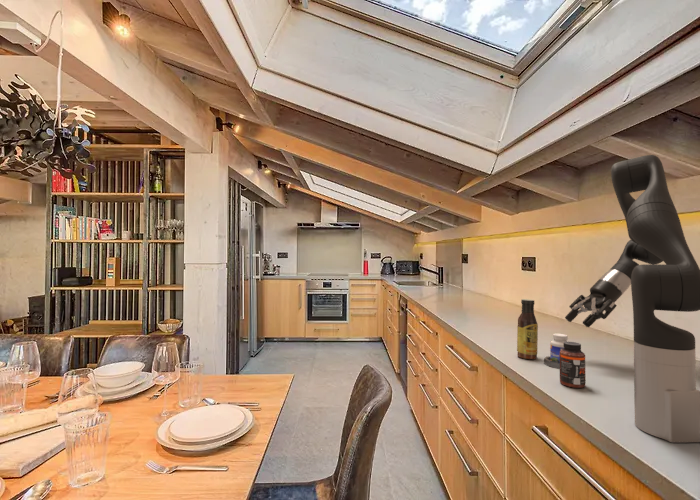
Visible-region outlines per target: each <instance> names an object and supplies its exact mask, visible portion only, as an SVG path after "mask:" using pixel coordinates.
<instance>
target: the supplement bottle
mask: <svg viewBox="0 0 700 500" xmlns="http://www.w3.org/2000/svg"><path fill="white" fill-rule="evenodd" d="M586 382H587V381H586V353H584V352H583V351H582V344H581V343H580V342H576V341H575V342H574V341H567V342H564V349H562V350H561V351H560V369H559V383H560V384H561V385H563V386H566V387H568V388H574V389H583V388H585V387H586Z"/></svg>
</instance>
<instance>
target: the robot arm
mask: <svg viewBox="0 0 700 500" xmlns="http://www.w3.org/2000/svg"><path fill="white" fill-rule="evenodd" d="M610 175H611V177H610V178H611V183H612V188H613V190H614V193H615V195H616V199H617V201H618V204H619V206H620V209H621V211H622V213H623V215H624V219H625V223H626V229H627V234H628V238H629V239H630V240H628V241H627V242H626V244H625V246H624V249H623V251H622V253H621V254H620V257H619V258H618V260H617V262H616V263H615V264H614V265H613V266H612V267H611V268H610V269H609V270H608V271H606V272H605V273H604V274H603V275H602V276H601V277H599V279H598V280H597V281H596V282H595V283H594V284H593V285H592V286H591V287H590V288H589V293H590V294H589V295H588V296H584V295H583V294H581V295H579V296H578V297H577V298H576V299H575V300H574V301H573V302H572V303H571V304H570V305H569V308H570V311H569V312H568V313H567V315H565V317H564V318H565V320H566V321H568V323H571V322H572V321H574V319H576V317H578V316H579V314H581V313H586V312H588V311H589V312H591V313H590V314H589V315H587V316H586V318H584V320H583V321H582V324H583V326H585V327H586V328H590V327H591V326H593V324H594V323H595V322H596V321H597V320H600V319H602V320H606V319H607V318H608V316H610V314H611V313H612V312H613V311H614V310H615V309H616V307H617V303H616V302H617V301H618V300H619V298H621V296H622V295H624V293H625V292H626V291H627V290H628V289H629V288H630V287H631V288H630V289H631V290H630V291H631V299H632V311H633V313H632V315H633V316H632V317H633V318H632V319H633V383H634V384H633V385H634V386H633V387H634V388H633V391H634V392H633V393H634V394H633V395H634V397H633V399H634V424H635V427H636V428H638V429H639V430H640V431H643V433H647V434H649V435H650V436H655V437H656V438H660V439H663V440H665V441H667V442H669V443H700V390H699V389H697V377H696V375H697V374H696V372H697V369H696V362H697V361H696V337H695V335H694V333H692V332H690V331H688V330H686V329H683V328H680V327H677V326H674V325H671V324H669V323H666V322H665V321H662V320H661V319H659V318H658V317H657V316H656V315H655V311H665V312H666V311H667V312H681V313H682V312H683V313H684V312H685V313H687V312H690V313H691V312H698V311H700V266H699V265H698V263H697V261H696V259H695V257H694V255H693V254H692V252H691V249H690V247H689V245H688V243H687V240H686V236H685V233H684V230H683V227H682V224H681V223H682V222H681V219H680V217H679V214H678V211H677V208H676V207H675V203H674V201H673V199H672V197H671V194H670V191H669V189H668V184H667V183H668V182H667V179H666V174H665V170H664V166H663V163H662V161H661V159H660V158H659V156H657V155H654V154H646V155H641V156H638V157H637V156H636V157H633V158H629V159H625V160H622V161H618V162H615V163H613V164H612V166H611V168H610ZM642 191H643V192H642ZM637 192H642V193H641V194H640V195H639V196H638V197H636V199H635V198H634V197H633V196H632V195H631V193H632V194H633V193H637ZM635 260H637V261H641V262H642V263H646V264H639V263H637V262H636V261H635ZM662 262H664V264H661V263H662Z"/></svg>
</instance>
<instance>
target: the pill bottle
mask: <svg viewBox="0 0 700 500" xmlns="http://www.w3.org/2000/svg"><path fill="white" fill-rule="evenodd" d="M568 339H569V338H568V335H567V334H563V333H553V334H552V340H551V341H550V344H549V345H550V347H549V349H550V350H549V351H550V354H549V355H550V361H553V362H558V363H560V351H561V350H562V349H564V342H568Z"/></svg>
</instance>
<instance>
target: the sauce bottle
mask: <svg viewBox="0 0 700 500" xmlns="http://www.w3.org/2000/svg"><path fill="white" fill-rule="evenodd" d="M520 302H521V314H519V316H518V318H517V327H516V328H517V333H516V334H517V337H516V338H517V340H516V342H517V343H516V344H517V345H516V346H517V347H516V351H517V354H516V355H517V357H518V358H520V359H524V360H535V359H537V358H538V340H539V339H538V338H539V336H538V335H539V334H538V332H539V331H538V330H539V329H538V328H539V324H538V321H537V318H536V316H535V306H534V305H535V300H534V299H529V298H528V299H527V298H526V299H521V301H520Z"/></svg>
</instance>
